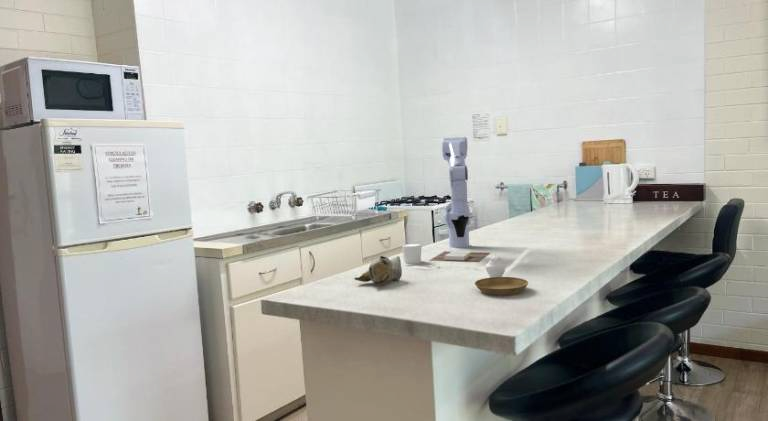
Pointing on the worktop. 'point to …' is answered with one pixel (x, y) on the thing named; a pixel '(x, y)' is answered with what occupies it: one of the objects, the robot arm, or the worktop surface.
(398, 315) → the worktop surface
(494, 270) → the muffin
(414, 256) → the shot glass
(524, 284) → the plant saucer
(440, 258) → the walnut board
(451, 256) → the glazed tile
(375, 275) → the ceramic sculpture
